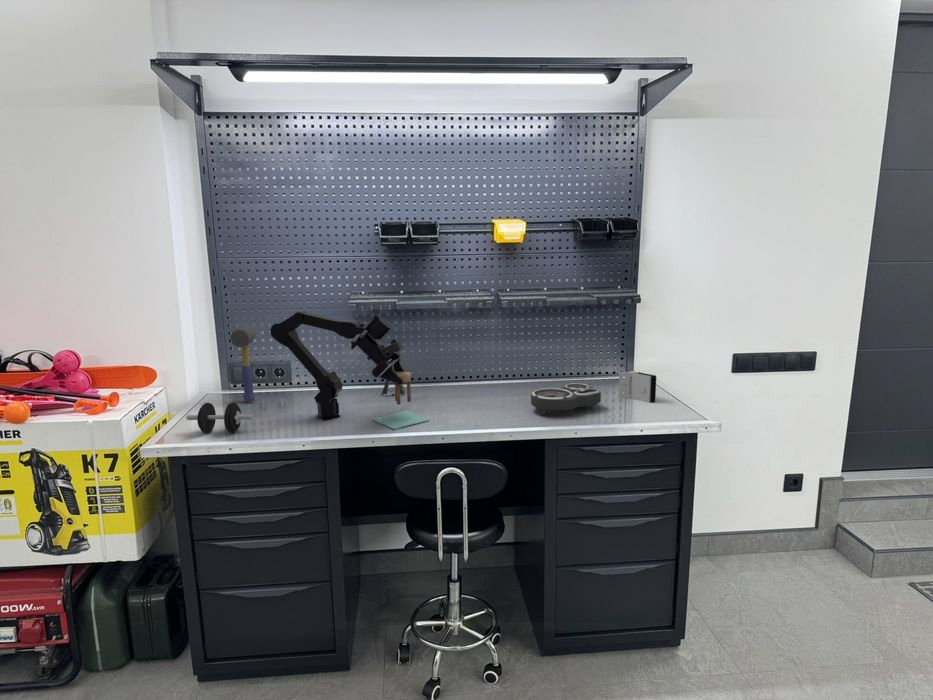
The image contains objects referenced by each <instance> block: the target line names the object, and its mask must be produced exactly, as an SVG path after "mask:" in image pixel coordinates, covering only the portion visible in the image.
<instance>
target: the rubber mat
mask: <svg viewBox="0 0 933 700" xmlns="http://www.w3.org/2000/svg"><path fill="white" fill-rule="evenodd" d="M373 420H374V421H373ZM372 421H373V422H375V421H376V422H375V423H377V422H378V424H379V425H382V424H383V425H382V426H384V425H385V426H384V427H386V426H387V428H388V427H390V428H392V429H396V430H398V429H397V428H400V427H404V428H406V427H405V426H408V427H410V426H409V425H412V426H414V425H413V424H416V425H418V424H417V423H420V424H423V423H422V422H425V423H427V422H426V421H429V422H430V419H428V418H426V417H424V416H421V415H419V414H416V413H414V412H411V411H408V410H404V411H399V412H395V413H392V414H391V413H390V414H387V415H383V416H378V417H374V418H372ZM390 428H389V429H390ZM392 429H391V430H392ZM400 429H401V428H400Z"/></svg>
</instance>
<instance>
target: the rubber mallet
mask: <svg viewBox="0 0 933 700" xmlns="http://www.w3.org/2000/svg"><path fill="white" fill-rule="evenodd" d="M256 335H257V334H256V329H255V328H254V327H253V326H252V325H249V324H245V325H240V326H238V327H237V328H235V329H234V330H233V331H232V332H231V334H230V342H231V343H232V345H234V346H235V347H237V348H241V349H240V350H241V359H242V366H241V379H242V383H243V392H244V393H243V400H244V402H246V403H247V404H248V403H250V404H251V403H252V402H254V401H255V394H254V388H253V387H254V386H253V376H254V375H253V371H252V366H251V363H250V355H249V354H250V353H249V345H250V344H251V343H252V342H253V341H254V340H255V339H256Z"/></svg>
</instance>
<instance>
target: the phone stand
mask: <svg viewBox="0 0 933 700" xmlns="http://www.w3.org/2000/svg"><path fill="white" fill-rule="evenodd" d="M390 382H391V381H389V380H386V379H385V383H384V386H383V389H382V393H381V396H382V395H383V394H387V391H389V386H390ZM404 392H405V393H406V389H405V387H404V383H403V384H402V385H400V394H404V395H405V393H404Z"/></svg>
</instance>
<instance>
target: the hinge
mask: <svg viewBox="0 0 933 700" xmlns="http://www.w3.org/2000/svg"><path fill="white" fill-rule="evenodd" d="M623 377H624V378H623ZM656 387H657V376H656V374H652V373H645V372H643V371H638V372H637V371H633V370H631V371H627V372H626V371H625V372H624V371H619V372H618V393H617V394H618V395H617V397H618V399H633V400H636V401H641V402H645V403H649V404H650V403H651V404H653V403H656V397H657V395H656V393H657V392H656V391H657V388H656Z"/></svg>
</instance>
